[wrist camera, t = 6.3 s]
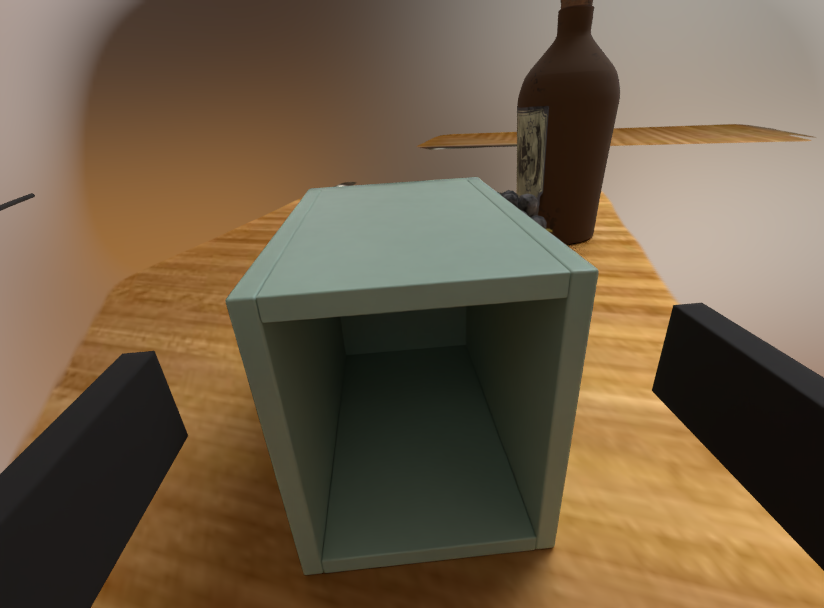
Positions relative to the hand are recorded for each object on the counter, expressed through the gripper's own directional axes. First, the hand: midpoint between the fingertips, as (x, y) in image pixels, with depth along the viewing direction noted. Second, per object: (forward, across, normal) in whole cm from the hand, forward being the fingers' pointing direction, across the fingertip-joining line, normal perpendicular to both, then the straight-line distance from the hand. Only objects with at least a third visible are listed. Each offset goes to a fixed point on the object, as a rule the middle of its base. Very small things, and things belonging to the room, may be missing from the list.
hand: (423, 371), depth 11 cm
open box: (+9, 0, -4) cm, 9 cm away
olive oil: (+41, +20, -10) cm, 47 cm away
